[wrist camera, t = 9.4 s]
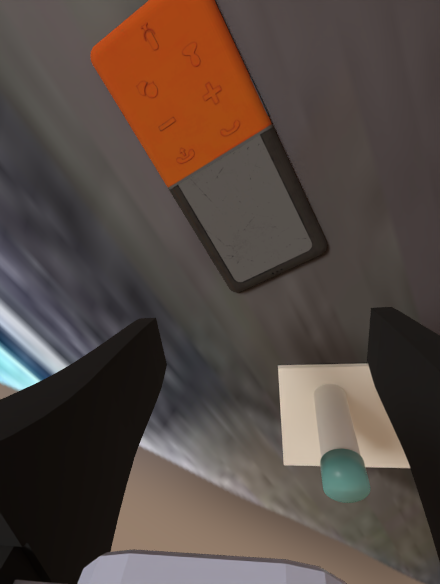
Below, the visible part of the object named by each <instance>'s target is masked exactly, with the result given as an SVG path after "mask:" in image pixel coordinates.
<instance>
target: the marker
mask: <svg viewBox="0 0 440 584" xmlns="http://www.w3.org/2000/svg"><path fill="white" fill-rule="evenodd" d="M314 402H315V410H316V419H317V427H318V435H319V443H320V451H321V460H320V466H321V475H322V483H323V490H324V492H325V493H326V495H327V496H328V497H330V498H331V499H333V500H336V501H339V502H344V503H353V502H358V501H361V500H363V499H364V498H366V497H367V496H368V495H369V493H370V484H369V480H368V476H367V472H366V468H365V464H364V460H363V458H362V457H361V455H360V451H359V447H358V443H357V439H356V434H355V430H354V426H353V422H352V418H351V414H350V410H349V405H348V401H347V397H346V393H345V391H344V390H343V388H341V387H340V386H338V385H335V384H324V385H321V386H320V387H318V388H317V389H316V390H315V392H314Z"/></svg>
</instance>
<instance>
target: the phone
mask: <svg viewBox="0 0 440 584" xmlns="http://www.w3.org/2000/svg"><path fill="white" fill-rule="evenodd" d="M91 61H92V64H93V66H94V67H95V69H96V71H97V72H98V74H99V75H100V77H101V79H102V80H103V82H104V84H105V85H106V87H107V89H108V90H109V92H110V94H111V95H112V97H113V98H114V100H115V102H116V103H117V105H118V107H119V108H120V110H121V112H122V113H123V115H124V116H125V118H126V120H127V121H128V123H129V125H130V126H131V128H132V130H133V131H134V133H135V135H136V136H137V138H138V139H139V141H140V143H141V144H142V146H143V148H144V149H145V151H146V153H147V154H148V156H149V158H150V159H151V161H152V162H153V164H154V166H155V167H156V169H157V171H158V172H159V174H160V176H161V177H162V179H163V180H164V182H165V184H166V185H167V187H168V189H169V190H170V192H171V194H172V195H173V197H174V199H175V200H176V202H177V203H178V205H179V207H180V208H181V210H182V212H183V213H184V215H185V217H186V218H187V220H188V222H189V223H190V225H191V226H192V228H193V230H194V231H195V233H196V235H197V236H198V238H199V240H200V241H201V243H202V244H203V246H204V248H205V249H206V251H207V253H208V254H209V256H210V258H211V259H212V261H213V263H214V264H215V266H216V267H217V269H218V271H219V272H220V274H221V276H222V277H223V279H224V281H225V282H226V284H227V286H228V287H229V289H230V290H231V291H233V292H242V291H244V290H246V289H248V288H250V287H253V286H255V285H257V284H259V283H261V282H263V281H265V280H268V279H270V278H272V277H274V276H276V275H278V274H281V273H283V272H285V271H287V270H289V269H291V268H294V267H296V266H298V265H300V264H302V263H304V262H307V261H309V260H311V259H313V258H315V257H317V256H320V255H321V254H323V253H324V252H325V250H326V248H327V242H326V239H325V237H324V235H323V233H322V231H321V228H320V226H319V224H318V222H317V220H316V218H315V216H314V213H313V211H312V209H311V207H310V205H309V203H308V201H307V198H306V196H305V194H304V192H303V190H302V188H301V185H300V183H299V181H298V179H297V177H296V175H295V173H294V170H293V168H292V166H291V164H290V162H289V160H288V157H287V155H286V153H285V151H284V149H283V147H282V145H281V142H280V140H279V138H278V136H277V134H276V132H275V129H274V127H273V125H272V123H271V121H270V119H269V117H268V116H269V115H268V113H267V111H266V109H265V106H264V104H263V102H262V100H261V98H260V96H259V94H258V91H257V89H256V87H255V85H254V83H253V81H252V78H251V76H249V74H248V71H247V69H246V67H245V65H244V63H243V61H242V58H241V56H240V54H239V52H238V50H237V48H236V46H235V43H234V41H233V39H232V37H231V35H230V33H229V30H228V28H227V26H226V24H225V22H224V20H223V18H222V15H221V13H220V11H219V9H218V7H217V5H216V2H215V0H149V1H148V2H146V3H145V4H144V5H143V6H141V7H140V8H139V9H138V10H137V11H135V12H134V13H133V14H132V15H131V16H130V17H129V18H127V19H126V20H125V21H124V22H123V23H121V24H120V25H119V26H118V27H117V28H115V29H114V30H113V31H112V32H111V33H109V34H108V35H107V36H106V37H105V38H103V39H102V40H101V41H100V42H99V43H97V44H96V45H95V46H94V47H93V49H92V51H91Z"/></svg>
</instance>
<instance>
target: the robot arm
mask: <svg viewBox="0 0 440 584" xmlns="http://www.w3.org/2000/svg"><path fill="white" fill-rule="evenodd" d="M367 362H368V365H369V369H370V372H371V376H372V379H373V382H374V386H375V388H376V391H377V393H378V395H379V397H380V400H381V402H382V404H383V406H384V409H385V411H386V413H387V415H388V417H389V419H390V422H391V424H392V426H393V428H394V430H395V433H396V435H397V437H398V439H399V441H400V444H401V446H402V448H403V450H404V453H405V455H406V458H407V460H408V463H409V465H410V468H411V471H412V474H413V477H414V480H415V483H416V486H417V489H418V492H419V495H420V498H421V502H422V505H423V508H424V511H425V514H426V518H427V521H428V524H429V527H430V530H431V534H432V537H433V540H434V544H435V547H436V551H437V554H438V557H439V561H440V336H439V335H438V334H436V333H434V332H433V331H431V330H429V329H428V328H426V327H424V326H423V325H421V324H419V323H418V322H416V321H415V320H413V319H411V318H410V317H408V316H406V315H405V314H403V313H402V312H400V311H398V310H396V309H394V308H392V307H382V308H371V316H370V329H369V342H368V354H367ZM166 366H167V364H166V359H165V355H164V351H163V346H162V342H161V338H160V333H159V329H158V325H157V321H156V318H144V319H138V320H136V321H135V322H133V323H131V324H130V325H128V326H127V327H126V328H124V329H123V330H121V331H120V332H118V333H117V334H116V335H114V336H113V337H111V338H110V339H109V340H107V341H106V342H104V343H103V344H101V345H100V346H99V347H97V348H96V349H94V350H93V351H91V352H90V353H88V354H86V355H85V356H83V357H82V358H80V359H79V360H77V361H76V362H74V363H73V364H71V365H69V366H68V367H66V368H64V369H62V370H61V371H59V372H57V373H55V374H53V375H52V376H50V377H48V378H46V379H44V380H42V381H40V382H38V383H36V384H34V385H32V386H30V387H27V388H25V389H23V390H21V391H19V392H17V393H14V394H12V395H10V396H8V397H6V398H3V399H1V400H0V584H346V583H345V582H344V581H343V580H341V579H339V578H337V577H336V576H334V575H333V574H331V573H329V572H328V571H326V570H324V569H323V568H321V567H319V566H315V565H310V564H305V563H300V562H295V561H291V560H286V559H271V558H256V557H239V556H225V555H209V554H195V553H178V552H164V551H148V550H125V551H115V552H110V551H111V546H112V542H113V538H114V533H115V529H116V525H117V520H118V516H119V512H120V508H121V504H122V501H123V496H124V493H125V489H126V485H127V481H128V478H129V474H130V471H131V468H132V464H133V461H134V457H135V454H136V451H137V449H138V446H139V443H140V441H141V438H142V436H143V433H144V431H145V428H146V426H147V423H148V421H149V418H150V416H151V414H152V411H153V409H154V406H155V403H156V401H157V398H158V396H159V393H160V390H161V387H162V383H163V379H164V375H165V371H166Z"/></svg>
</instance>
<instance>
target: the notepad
mask: <svg viewBox="0 0 440 584" xmlns="http://www.w3.org/2000/svg"><path fill="white" fill-rule="evenodd" d="M278 373H279V391H280V408H281V425H282V442H283V459H284V465H299V466H320V460H321V451H320V443H319V435H318V427H317V419H316V410H315V402H314V392H315V390H316V389H317V388H318V387H320V386H321V385H324V384H335V385H338V386H340V387H341V388H343V390H344V391H345V393H346V397H347V401H348V405H349V410H350V414H351V418H352V422H353V426H354V430H355V434H356V439H357V443H358V447H359V451H360V455H361V457H362V458H363V460H364V464H365V467H386V468H410V465H409V463H408V460H407V458H406V455H405V453H404V450H403V448H402V446H401V444H400V441H399V439H398V437H397V435H396V433H395V430H394V428H393V426H392V424H391V422H390V419H389V417H388V415H387V413H386V411H385V409H384V406H383V404H382V402H381V400H380V397H379V395H378V393H377V391H376V388H375V386H374V382H373V379H372V376H371V372H370V369H369V365H368V363H363V364H318V365H278Z"/></svg>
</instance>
